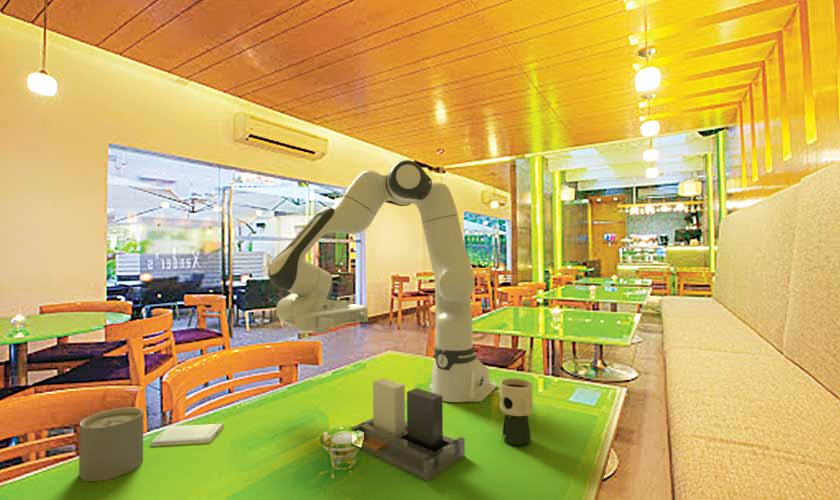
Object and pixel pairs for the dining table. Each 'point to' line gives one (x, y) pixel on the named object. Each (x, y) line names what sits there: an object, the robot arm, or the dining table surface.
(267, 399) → the dining table surface
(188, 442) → the hard drive
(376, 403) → the beige rectangular block
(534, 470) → the dining table surface
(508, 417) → the character mug
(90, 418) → the coffee mug
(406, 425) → the rack
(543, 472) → the dining table surface
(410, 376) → the dining table surface
